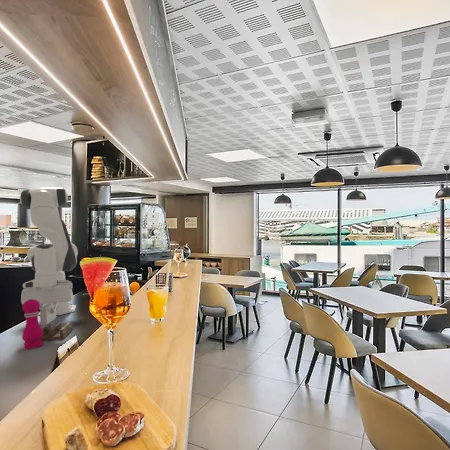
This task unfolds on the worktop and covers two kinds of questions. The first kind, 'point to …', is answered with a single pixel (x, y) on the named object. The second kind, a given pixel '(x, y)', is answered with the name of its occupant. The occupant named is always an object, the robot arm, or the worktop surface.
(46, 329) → the walnut rack
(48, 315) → the clay strip
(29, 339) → the pepper mill
